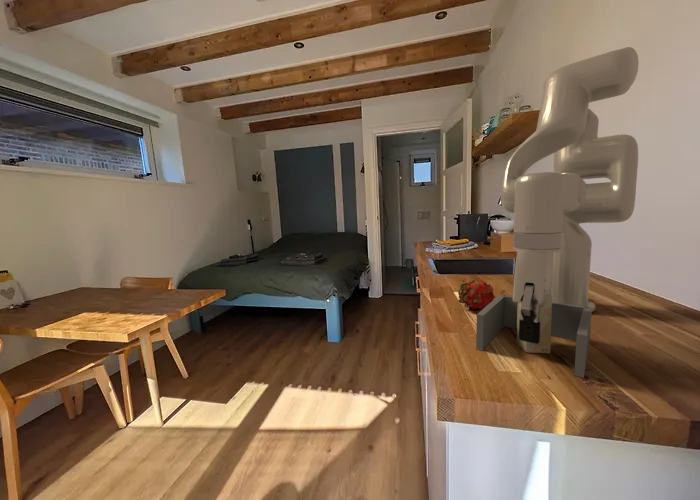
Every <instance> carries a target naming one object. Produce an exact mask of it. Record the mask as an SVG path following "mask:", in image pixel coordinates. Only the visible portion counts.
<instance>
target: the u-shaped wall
mask: <svg viewBox="0 0 700 500" xmlns="http://www.w3.org/2000/svg"><path fill="white" fill-rule="evenodd" d="M517 310H518V303H517V304H515V303H514V302H513V295H507V294H499V295H497V297H495V298H494V300H493V301H492V302H491V303H490V304H488V305H487V306H486V307H485V308H484V309H483V310H479V311H478V312H477V313H476V334H475V335H476V338H475V339H476V340H475V341H476V343H475V345H476V347H475V349H476V350H478V351H482V352H483V351H484V350H485V349H486V348H487V346H488V345H489V344H490V343H491V341H493V339H495V337H496V336H497V334H499V332H501V330H502V329H503V328H504V327H507V328H510V329H516V330H517ZM592 315H593V314H592V307H586V306H579V305H572V304H565V303H558V302H552V321H551V337H555V338H559V339H560V338H561V339H563V340H564V339H565V340H569V341H573V342H575V356H574V357H575V358H574V360H575V361H574V376H576V377H579V378H583V379H584V378H585V373H586V372H585V371H586V366H587V361H588V360H587V359H588V356H589V355H588V353H589V347H590V340H591V328H592Z"/></svg>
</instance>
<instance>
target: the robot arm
mask: <svg viewBox="0 0 700 500" xmlns="http://www.w3.org/2000/svg"><path fill="white" fill-rule="evenodd" d="M638 72H639V56H638V53H637V50H636V49H635V48H634V47H631V46H627V47H622V48H619V49H615V50H610V51H608V52H605V53H601V54H598V55H594V56H592V57H589V58H585V59H582V60H578V61H576V62H575V61H574V62H572V63H569V64H566V65H564V66H561V67H560V68H558V69H555V70H554V71H552V72H550V74H549V75H547V77H546V78H545V80H544V82H543V93H542V96H541V97H542V98H541V104H540V108H539V114H538V119H537V124H536V130H535V131H534V132H533V133H532V134H530V136H528V137H527V138H526V139H525V140H524V141H523V142H522V143H521V144H520V145H519V146H518V148H516V150H515V151H514V152H513V154H512V155H511V156H510V158H509V159H508V162H507V163H506V166H505V168H504V172H503V173H504V174H503V179H502V182H501V183H502V184H501V190H500V203H501V206H502V208H503V209H504V210H505V211H506V212H508V213H511V214H513V216H514V217H513V243H512V244H513V246H512V249H513V251H517V252H516V258H515V265H514V267H515V268H514V276H513V288H512V289H513V290H512V296H513V302H514V303H515V304H517V303H519V302H520V301H521V300H522V304H521V313H520V320H519V339H520V340H522V341H526V342H531V343H535V344H538V343H539V342H540V322H538V321H539V312H540V307H542V306H544V305H545V303H546V300H547V296H548V294H550V295H552V302H558V303H565V304H572V305H579V306H586V307H592V312H595V310H596V304H595V303H593V302H592V301H590V300H589V292H590V291H589V289H590V276H591V275H590V273H591V261H592V260H591V259H592V239H591V236H590V235H589V233H587V231H586V230H585V229H583V227H581V225H580V224H590V223H591V224H601V223H603V224H606V223H611V224H612V223H623V222H625V221H627V220H629V219H630V218H631V217H632V215H633V213H634V210H635V205H636V194H637V193H636V192H637V179H638V168H639V167H638V165H639V145H638V142H637V140H636V138H635V137H633V135H630V134H615V135H609V136H603V137H598V135H599V134H598V133H599V117H598V116H597V115H596V114H595V112H594V111H593V110H592V109H590V108H589V105H590V103H592V102H597V101H602V100H606V99H610V98H616V97H619V96H623V95H624V94H626V93H627V92H628V91H629V90H630V88H631V87H632V85H633V84H634V82H635V81H636V78H637V76H638ZM552 154H553V171H547V172H546V171H545V172H534V173H528V174H525V173H526V172H527V171H528V169H529V168H531V167H532V166H533V165H534V164H536V163H538V162H539V161H541V160H543V159H545V158H547V157H548V156H551V155H552ZM592 179H608V180H610V181H609V182H607V181H605V182H596V183H595V182H593V183H592V182H591V183H586V181H584V180H592ZM522 296H523V297H522ZM532 301H534V302H537V305H535V304H532ZM532 308H535V312H534V310H531V309H532ZM534 313H535V315H534Z"/></svg>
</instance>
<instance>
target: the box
mask: <svg viewBox="0 0 700 500" xmlns="http://www.w3.org/2000/svg"><path fill="white" fill-rule="evenodd" d="M522 297H523V296H522ZM521 304H522V300H521V301H520V302H519V303H518V310H517V329H516V342H517V344H518V345H519V347H521V348H522V350H523V351H524V352H525V353H531V354H532V353H533V354H534V353H535V354H551V353H552V352H551V351H552V349H551V346H552V336H551V321H552V295H550V294H548V296H547V300H546V303H545V305H544V306H542V307H540V312H539V321H538V322H540V342H539V343H538V344H535V343H531V342H526V341H522V340H520V339H519V320H520V313H521ZM532 304H535V305H537V302H534V301H532ZM531 310H534V312H535V308H532V309H531ZM534 315H535V313H534Z"/></svg>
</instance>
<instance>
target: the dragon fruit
mask: <svg viewBox="0 0 700 500" xmlns="http://www.w3.org/2000/svg"><path fill="white" fill-rule="evenodd" d="M457 293H458V295H457V296H458V302H459V303H460V304H462V305H463V304H464V307H465V308H468V309H469V310H470V311H474V310H475V309H478V310H479V311H481V310H483V309H484V308H485V307H486V306H487V305H488V304H490V303H491V302H492V301H493V300H494V299H495V298H496V295H495V294H494V288H493V286H492V285H491V284H489V283H487V282H486V281H485V280H483V279H482V280H479V281H477V280H475V279H474V280H471V281H468V282H465V283H462V284H461V285H460V288H459V290H458V292H457Z"/></svg>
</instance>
